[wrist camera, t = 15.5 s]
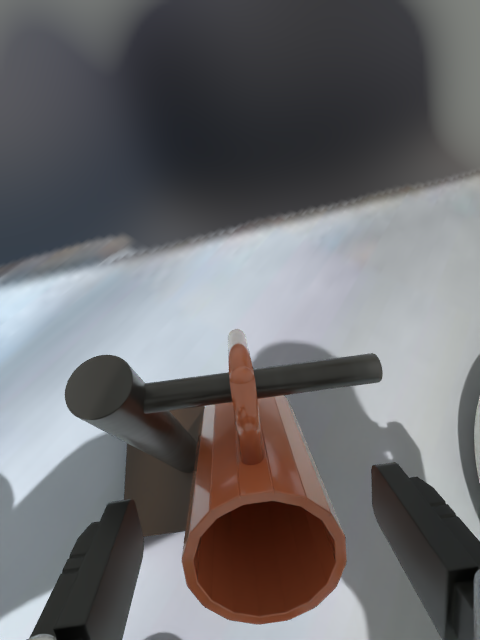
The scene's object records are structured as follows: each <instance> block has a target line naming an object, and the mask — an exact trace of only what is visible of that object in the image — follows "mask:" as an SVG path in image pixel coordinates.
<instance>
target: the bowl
mask: <svg viewBox="0 0 480 640" xmlns="http://www.w3.org/2000/svg"><path fill="white" fill-rule="evenodd" d="M474 446H475V458H476V466H477V472H478V477H479V482H480V397H479V401H478V405H477V411H476V417H475V429H474Z"/></svg>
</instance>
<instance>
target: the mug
mask: <svg viewBox="0 0 480 640" xmlns="http://www.w3.org/2000/svg"><path fill="white" fill-rule="evenodd" d="M228 358H229V381H230V388H231V396H232V402H230V403H222V404H215V405H208V406H205V407H204V410H203V413H202V419H201V422H200V428H199V436H198V443H197V450H196V458H195V465H194V472H193V480H192V487H191V494H190V502H189V509H188V516H187V524H186V531H185V538H184V546H183V553H182V565H183V569H184V574H185V579H186V584H187V586H188V588H189V589H190V590H191V591H192V593H193V594H194V595H195V596H196V598H197V599H198V600H199V601H200V603H201V604H202V605H203V606H204V607H205V608H207V609H209V610H211V611H213V612H215V613H216V614H218V615H220V616H222V617H224V618H226V619H229V620H232V621H238V622H244V623H250V624H259V625H260V624H267V623H274V622H280V621H287V620H290V619H292V618H294V617H297V616H299V615H301V614H303V613H305V612H307V611H309V610H311V609H313V608H315V607H317V606H318V605H319V604H320V603H321V602H322V601H323V600H324V599H325V598H326V597H327V596H328V595H329V594H330V593H331V592H332V591H333V590H334V589H335V588H336V587H337V584H338V582H339V580H340V577H341V575H342V573H343V571H344V568H345V566H346V562H347V557H346V538H345V534H344V532H343V530H342V527H341V525H340V522H339V520H338V518H337V515H336V513H335V510H334V508H333V505H332V503H331V501H330V498H329V496H328V493H327V491H326V488H325V486H324V484H323V481H322V479H321V476H320V474H319V472H318V469H317V467H316V464H315V462H314V459H313V457H312V455H311V452H310V450H309V447H308V445H307V442H306V440H305V438H304V435H303V433H302V430H301V428H300V425H299V423H298V421H297V418H296V416H295V413H294V411H293V409H292V408H291V405H290V403H289V401H288V399H287V398H286V397H285V395H282V396H274V397H267V398H260V399H257V392H256V383H255V376H254V371H253V367H252V362H251V358H250V353H249V349H248V345H247V340H246V336H245V334H244V332H243V331H241V330H239V329H235V330H232V331H231V332H230V333H229V335H228Z"/></svg>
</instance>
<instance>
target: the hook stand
mask: <svg viewBox="0 0 480 640" xmlns="http://www.w3.org/2000/svg"><path fill="white" fill-rule="evenodd" d="M253 371H254V376H255V383H256V392H257V399H260V398H267V397H274V396H282V395H289V394H297V393H304V392H312V391H319V390H326V389H334V388H341V387H349V386H356V385H363V384H371V383H378V382H380V381H381V379H382V366H381V363H380V360H379V358H378V357H377V356H376V355H375V354H372V353H371V354H364V355H356V356H349V357H341V358H333V359H326V360H318V361H311V362H303V363H296V364H288V365H281V366H273V367H266V368H258V369H253ZM65 400H66V404H67V407H68V409H69V410H70V411H71V413H72V414H74V415H75V416H76V417H78V418H80V419H82V420H84V421H86V422H88V423H90V424H91V425H93V426H95V427H97V428H99V429H101V430H103V431H105V432H107V433H109V434H111V435H112V436H114V437H116V438H118V439H120V440H122V441H124V442H126V443H127V457H126V475H125V492H124V500H129V499H133V500H134V501H135V504H136V508H137V512H138V516H139V521H140V525H141V529H142V533H143V537H146V536H153V535H160V534H167V533H174V532H181V531H186V524H187V516H188V509H189V502H190V494H191V487H192V480H193V472H194V465H195V458H196V450H197V443H198V436H199V428H200V422H201V419H202V413H203V410H204V407H205V406H208V405H215V404H222V403H230V402H232V396H231V388H230V381H229V372H228V373H221V374H213V375H206V376H198V377H190V378H183V379H175V380H168V381H160V382H153V383H144V382H143V380H142V379H141V378H140V377H139V376H138V375H137V374H136V373H135V371H134V370H133V369H132V368H131V367H130V366H129V365H128V363H127V362H126V361H124V360H123V359H121V358H119V357H117V356H113V355H101V356H96V357H93V358H91V359H89V360H87V361H85V362H84V363H82V364H81V365H80V366H79V367H78V368H77V369H76V370H75V371H74V372H73V373H72V375H71V377H70V378H69V380H68V383H67V385H66V389H65Z"/></svg>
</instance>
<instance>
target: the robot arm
mask: <svg viewBox="0 0 480 640" xmlns="http://www.w3.org/2000/svg"><path fill="white" fill-rule="evenodd" d="M371 474H372V505H373V510H374V514H375V517H376V519H377V522H378V524H379V526H380V528H381V530H382V531H383V533H384V535H385V537H386V539H387V540H388V542H389V544H390V546H391V548H392V549H393V551H394V553H395V555H396V557H397V558H398V560H399V562H400V564H401V566H402V568H403V569H404V571H405V573H406V575H407V577H408V578H409V580H410V582H411V584H412V586H413V587H414V589H415V591H416V593H417V595H418V596H419V598H420V600H421V602H422V604H423V605H424V607H425V609H426V611H427V613H428V615H429V616H430V618H431V620H432V622H433V624H434V625H435V627H436V629H437V631H438V633H439V634H440V636H441V638H442V640H480V542H479V540H478V539H477V538H476V537H475V536H474V535H473V533H472V532H471V531H470V530H469V529H468V528H467V526H466V525H465V524H464V523H463V522H462V521H461V519H460V518H459V517H457V516H456V514H455V512H454V511H453V510H452V509H451V508H450V507H449V505H448V504H447V505H446V503H445V501H444V500H443V498H442V497H441V496H440V495H439V494H438V493H437V491H436V490H435V489H434V488H433V487H432V486H430V485H429V484H427V483H426V482H424V481H423V480H421V479H420V478H418V477H411V478H409V477H408V476H407V475H406V473H405V472H404V471H403V470H402V468H401V467H400V466H399V465H398V464H397V463H396V462H393V463H386V464H379V465H373V466H372V469H371ZM143 550H144V539H143V533H142V529H141V525H140V521H139V516H138V512H137V508H136V504H135V501H134V500H133V499H129V500H122V501H115V502H110V503H108V505H107V506H106V509H105V511H104V513H103V515H102V518H101V520H100V522H94V523H91V524H90V525H89V526H88V527H87V529H86V530H85V531H84V532H83V533H82V534H81V535H80V537H79V538H78V539H77V541H76V543H75V546H74V548H73V550H72V552H71V554H70V558H69V559H68V560H67V562H66V564H65V566H64V568H63V572H62V574H60V576H59V579H58V581H57V583H56V585H55V587H54V589H53V591H52V593H51V595H50V597H49V599H48V601H47V603H46V605H45V607H44V610H43V612H42V614H41V616H40V618H39V620H38V622H37V624H36V626H35V628H34V630H33V632H32V634H31V636H30V638H29V639H27V640H122V638H123V634H124V630H125V626H126V622H127V618H128V614H129V610H130V606H131V602H132V598H133V594H134V590H135V586H136V582H137V578H138V574H139V570H140V566H141V562H142V557H143Z"/></svg>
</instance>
